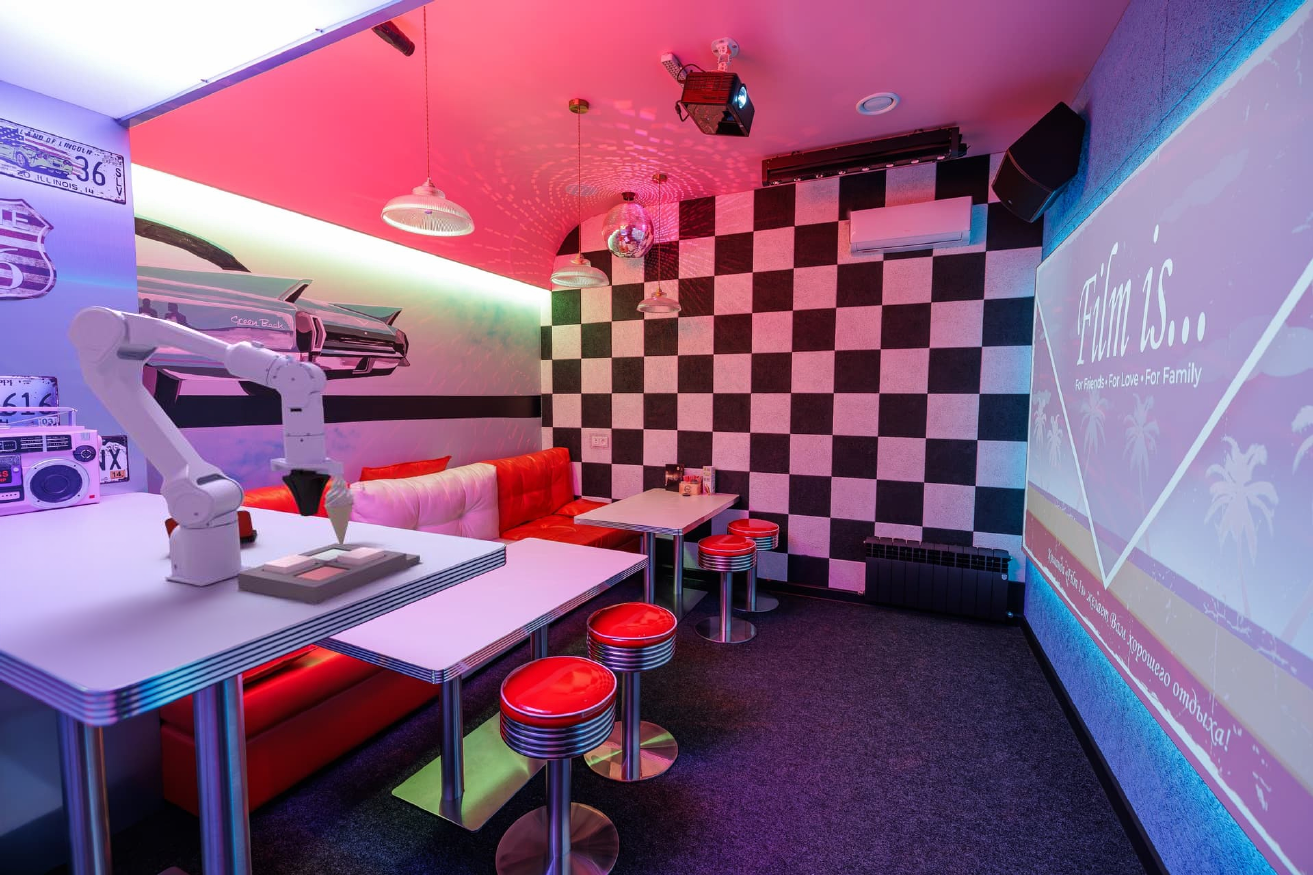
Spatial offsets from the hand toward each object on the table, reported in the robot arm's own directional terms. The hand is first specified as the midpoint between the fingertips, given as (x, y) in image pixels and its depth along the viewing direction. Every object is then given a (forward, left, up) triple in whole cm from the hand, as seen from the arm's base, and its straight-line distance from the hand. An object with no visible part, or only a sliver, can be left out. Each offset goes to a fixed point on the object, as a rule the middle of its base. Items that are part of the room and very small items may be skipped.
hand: (309, 514), depth 90 cm
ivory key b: (+10, +2, -7) cm, 12 cm away
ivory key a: (+2, -6, -7) cm, 9 cm away
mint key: (+3, +1, -8) cm, 9 cm away
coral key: (+10, -6, -8) cm, 14 cm away
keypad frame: (+6, 0, -9) cm, 11 cm away
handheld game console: (-31, +4, -10) cm, 33 cm away
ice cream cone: (-8, +12, -10) cm, 17 cm away
